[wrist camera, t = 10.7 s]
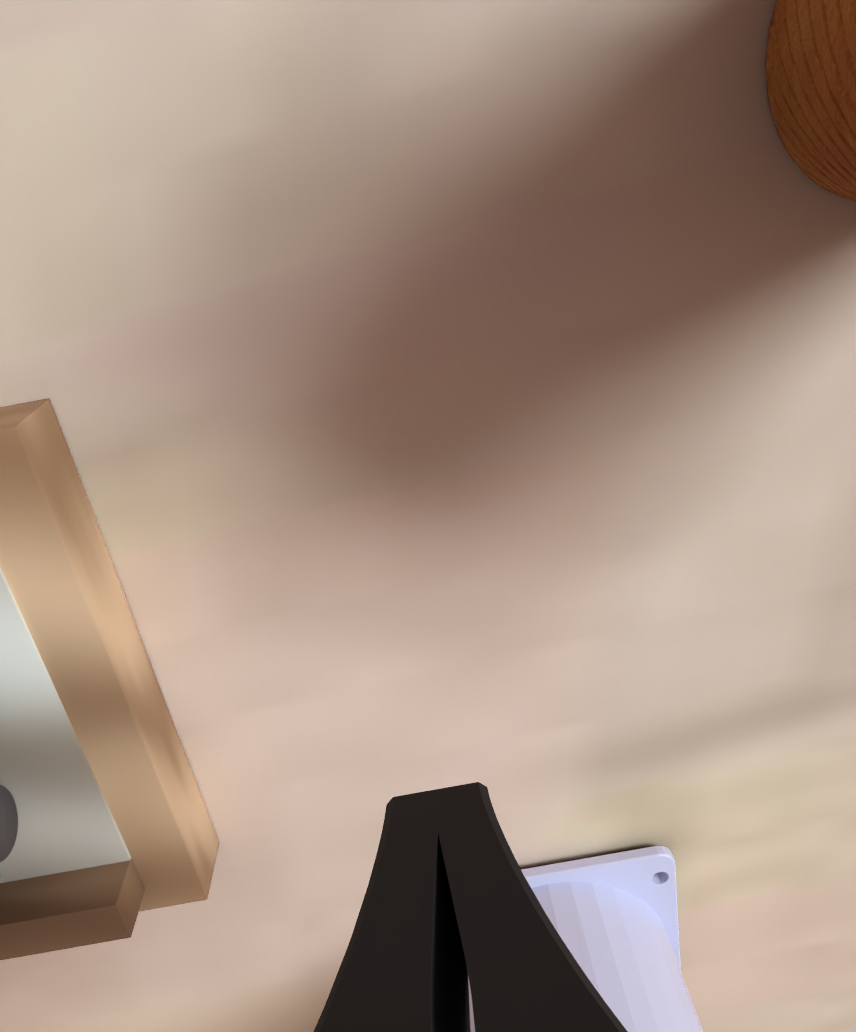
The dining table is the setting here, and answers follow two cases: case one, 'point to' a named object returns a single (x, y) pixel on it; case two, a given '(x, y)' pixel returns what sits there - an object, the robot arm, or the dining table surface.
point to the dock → (81, 720)
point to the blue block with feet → (7, 823)
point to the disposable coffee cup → (816, 88)
